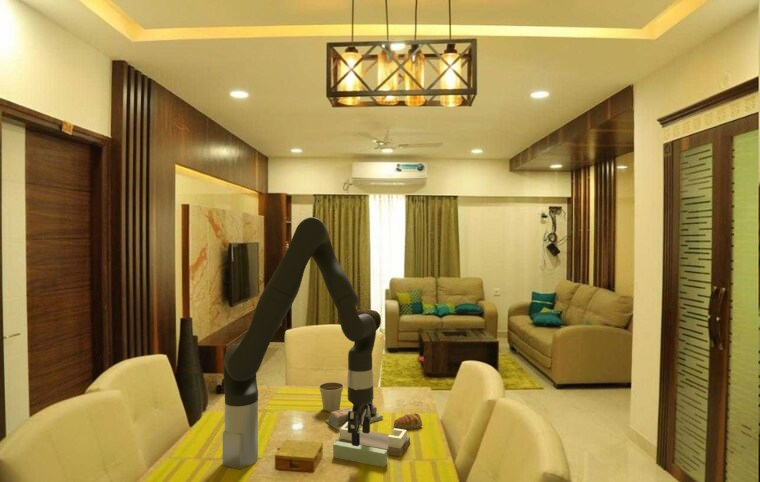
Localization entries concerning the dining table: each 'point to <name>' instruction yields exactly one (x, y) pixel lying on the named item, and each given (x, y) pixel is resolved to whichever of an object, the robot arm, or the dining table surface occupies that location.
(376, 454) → the slat
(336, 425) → the packaged product
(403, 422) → the pastry
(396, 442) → the cap near
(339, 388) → the flower pot
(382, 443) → the board
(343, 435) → the cap far
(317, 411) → the dining table surface
